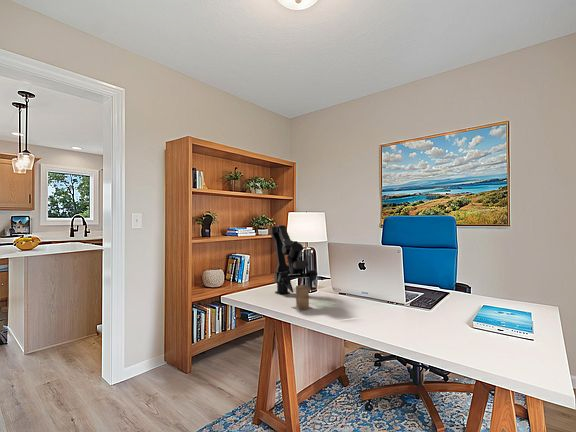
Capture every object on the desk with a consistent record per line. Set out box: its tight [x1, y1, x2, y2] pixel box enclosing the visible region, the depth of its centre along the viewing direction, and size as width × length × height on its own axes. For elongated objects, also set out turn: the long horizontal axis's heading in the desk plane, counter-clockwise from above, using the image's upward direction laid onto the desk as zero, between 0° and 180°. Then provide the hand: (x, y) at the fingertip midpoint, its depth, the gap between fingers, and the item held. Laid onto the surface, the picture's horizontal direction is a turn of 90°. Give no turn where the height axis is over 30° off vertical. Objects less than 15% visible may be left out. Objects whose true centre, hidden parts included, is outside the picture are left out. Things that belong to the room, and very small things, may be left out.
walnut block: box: [295, 284, 310, 310], centre depth 145 cm, size 5×5×10 cm
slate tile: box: [290, 305, 315, 312], centre depth 145 cm, size 8×8×1 cm
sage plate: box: [309, 299, 337, 309], centre depth 151 cm, size 10×10×1 cm
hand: (302, 291), depth 145 cm, fingers open, 9 cm apart
